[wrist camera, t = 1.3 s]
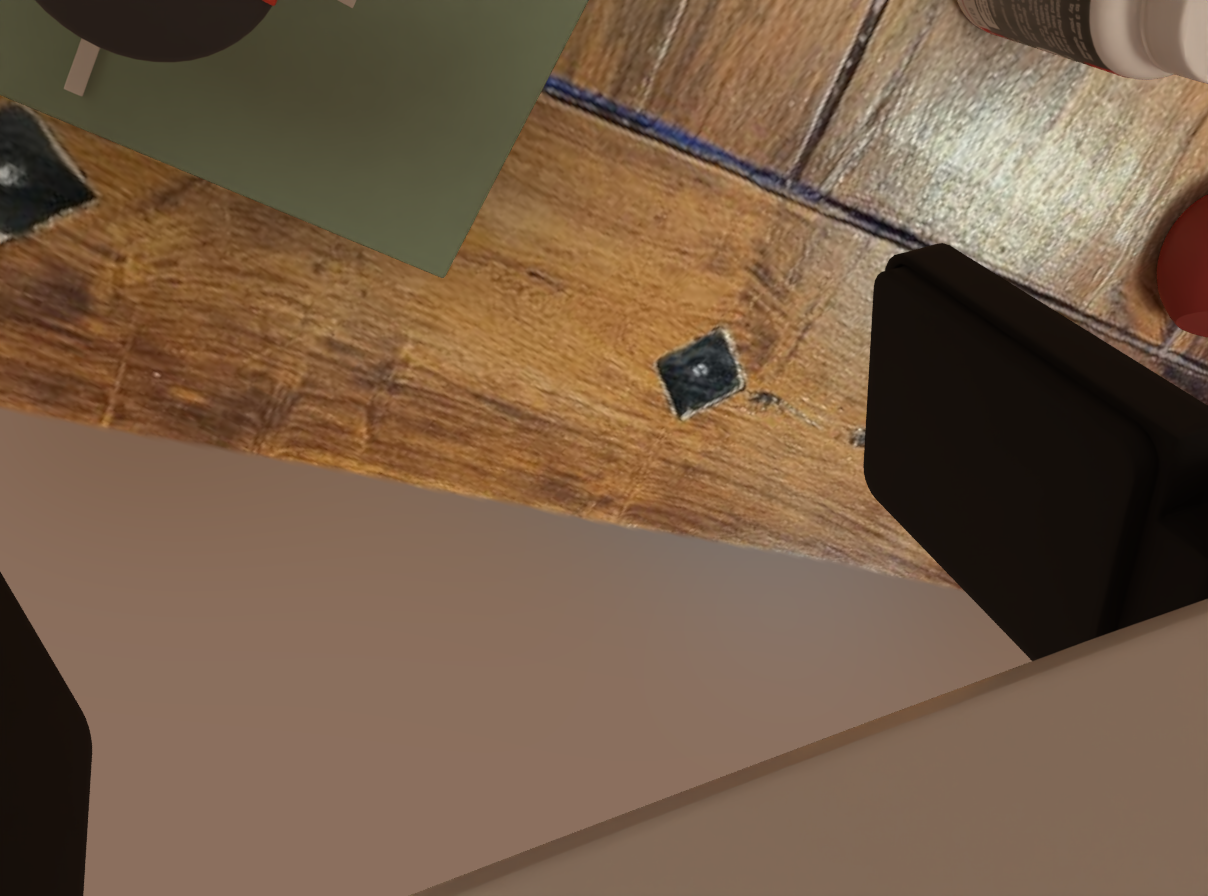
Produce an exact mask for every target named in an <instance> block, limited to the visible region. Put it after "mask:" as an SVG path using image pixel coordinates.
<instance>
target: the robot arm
mask: <svg viewBox="0 0 1208 896" xmlns="http://www.w3.org/2000/svg"><path fill="white" fill-rule="evenodd" d="M864 475H865V480H866V482H867V485H868V488H869V489H870V491H871V493H872V495H873V496H874V497H875V498H876V500H877V501H878V502H879V503H880V504H881V505H882V506H883V507H884V508H885V509H886V510H887V511H888V512H889V513H890V514H891V515H892V516H893V517H894V518H895V519H896V520H897V521H898V522H899V523H900V524H901V525H902V527H903V528H904V529H905V530H906V531H907V532H908V533H909V534H910V535H911V536H912V537H913V538H914V539H915V540H916V541H917V542H918V543H919V544H920V545H921V546H922V547H923V548H924V549H925V550H926V551H927V552H928V553H929V554H930V556H931V557H932V558H933V559H934V560H935V561H936V562H937V563H938V564H939V565H940V566H941V567H942V568H943V569H944V570H945V571H946V572H947V573H948V574H949V575H950V576H951V577H952V578H953V579H954V580H955V581H956V582H957V583H958V585H959V586H960V587H961V588H962V589H963V590H964V591H965V592H966V593H967V594H968V595H969V596H970V597H971V598H972V599H973V600H974V601H975V602H976V603H977V604H978V605H979V606H980V607H981V608H982V609H983V610H984V611H985V612H986V613H987V614H988V616H990V618H991V619H992V620H993V621H994V622H995V623H996V624H997V625H998V626H999V627H1000V628H1001V629H1002V630H1003V631H1004V632H1005V633H1006V634H1007V635H1008V636H1009V637H1010V638H1011V639H1012V640H1013V641H1014V642H1015V643H1016V645H1017V646H1019V648H1020V649H1021V650H1022V651H1023V652H1024V653H1025V654H1026V655H1027V656H1028V657H1029V658H1030V659H1031V660H1032V662H1029V663H1027V664H1024V665H1021V666H1018V667H1016V668H1013V669H1010V670H1008V671H1005V672H1002V673H999V674H997V675H994V676H992V677H989V678H986V679H983V680H981V681H978V682H975V683H973V684H970V685H967V686H964V687H962V688H959V689H956V690H954V691H951V692H948V693H945V694H943V695H940V696H937V697H935V698H932V699H929V700H927V701H924V702H921V703H919V704H916V705H913V706H910V707H908V708H905V709H902V710H899V711H897V712H894V713H891V714H889V715H886V716H883V717H881V718H878V719H875V720H873V721H870V722H867V723H864V724H862V725H859V726H857V727H854V728H851V729H848V730H846V731H843V732H840V733H838V734H835V735H832V736H830V737H827V738H824V739H822V740H819V741H816V742H814V743H811V744H808V745H806V746H803V747H801V748H798V749H795V750H793V751H790V752H787V753H784V754H782V755H779V756H776V757H774V758H771V759H769V760H766V761H763V762H760V763H758V764H755V765H752V766H750V767H747V768H744V769H742V770H739V771H737V772H734V773H731V774H728V775H726V776H723V777H720V778H718V779H715V780H712V781H710V782H707V783H705V784H702V785H699V786H697V787H694V788H691V789H689V790H686V791H683V792H681V793H678V794H676V795H673V796H670V797H667V798H665V799H662V800H659V801H657V802H654V803H652V804H649V805H646V806H644V807H641V808H638V809H636V810H633V811H630V812H628V813H625V814H622V815H620V816H617V817H615V818H612V819H609V820H606V821H604V822H601V823H598V824H596V825H593V826H591V827H588V828H585V829H583V830H580V831H577V832H575V833H572V834H569V835H567V836H564V837H562V838H559V839H556V840H553V841H551V842H548V843H546V844H543V845H540V846H538V847H535V848H532V849H530V850H527V851H525V852H522V853H520V854H517V855H514V856H512V857H509V858H507V859H504V860H501V861H498V862H496V863H493V864H491V865H488V866H485V867H483V868H480V869H478V870H475V871H472V872H470V873H467V874H464V875H462V876H459V877H457V878H454V879H451V880H449V881H446V882H444V883H441V884H439V885H436V886H433V887H430V888H428V889H425V890H423V891H420V892H418V893H415V894H412V895H410V896H1208V406H1207V405H1206V404H1204V403H1203V402H1201V401H1199V400H1198V399H1196V398H1194V397H1193V396H1191V395H1190V394H1188V393H1186V392H1185V391H1183V390H1182V389H1180V388H1178V387H1177V386H1175V385H1174V384H1172V383H1170V382H1169V381H1167V380H1165V379H1164V378H1162V377H1161V376H1159V375H1157V374H1156V373H1154V372H1153V371H1151V370H1149V369H1148V368H1146V367H1145V366H1143V365H1141V364H1140V363H1138V362H1136V361H1135V360H1133V359H1132V358H1130V357H1128V356H1127V355H1125V354H1124V353H1122V352H1120V351H1119V350H1117V349H1116V348H1114V347H1112V346H1111V345H1109V344H1107V343H1106V342H1104V341H1103V340H1101V339H1099V338H1098V337H1096V336H1095V335H1093V334H1091V333H1090V332H1088V331H1087V330H1085V329H1083V328H1082V327H1080V326H1078V325H1077V324H1075V323H1074V322H1072V321H1070V320H1069V319H1067V318H1066V317H1064V316H1062V315H1061V314H1059V313H1058V312H1056V311H1054V310H1053V309H1051V308H1049V307H1048V306H1046V305H1045V304H1043V303H1041V302H1040V301H1038V300H1037V299H1035V298H1033V297H1032V296H1030V295H1029V294H1027V293H1025V292H1024V291H1022V290H1020V289H1019V288H1017V287H1016V286H1014V285H1012V284H1011V283H1009V282H1008V281H1006V280H1004V279H1003V278H1001V277H1000V276H998V275H996V274H995V273H993V272H991V271H990V270H988V269H987V268H985V267H983V266H982V265H980V264H979V263H977V262H975V261H974V260H972V259H970V258H969V257H967V256H966V255H964V254H962V253H961V252H959V251H958V250H956V249H954V248H953V247H951V246H949V245H947V244H944V243H940V244H935V245H931V246H927V247H924V248H920V249H916V250H912V251H909V252H905V253H901V254H897V255H894V256H893V257H892V258H891V259H890V260H889V261H888V263H887V266H886V268H885V271H884V272H881V273H880V274H879V275H878V276H877V278H876V280H875V284H874V293H873V311H872V328H871V345H870V363H869V380H868V398H867V415H866V432H865V450H864ZM91 762H92V741H91V735H90V730H89V726H88V724H87V721H86V718H85V716H84V714H83V712H82V710H81V708H80V707H79V705H78V703H77V701H76V700H75V698H74V696H73V695H72V693H71V691H70V690H69V688H68V686H67V685H66V683H65V681H64V679H63V678H62V676H61V674H60V673H59V671H58V669H57V667H56V666H55V664H54V662H53V661H52V659H51V657H50V656H49V654H48V652H47V650H46V649H45V647H44V645H43V644H42V642H41V640H40V638H39V637H38V635H37V633H36V632H35V630H34V628H33V627H32V625H31V623H30V622H29V620H28V618H27V616H26V615H25V613H24V611H23V610H22V608H21V606H20V604H19V603H18V601H17V599H16V598H15V596H14V594H13V593H12V591H11V589H10V587H9V586H8V584H7V583H6V581H5V579H4V577H3V576H2V574H1V572H0V896H83V891H84V875H85V858H86V842H87V826H88V810H89V794H90V777H91Z"/></svg>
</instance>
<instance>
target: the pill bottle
mask: <svg viewBox="0 0 1208 896" xmlns="http://www.w3.org/2000/svg"><path fill="white" fill-rule="evenodd" d="M957 1H958V4H959V6H960V8H961V10H962V12H963V13H964V14H965V16H966V17H967V18H968V19H969V20H970V21H971V22H972V23H973V24H974V25H976V26H977V27H978V28H980V29H982V30H984V31H986V32H988V33H991V34H993V35H996V36H1000V37H1003V38H1006V39H1009V40H1012V41H1016V42H1019V43H1022V44H1025V45H1028V46H1031V47H1034V48H1037V49H1040V50H1043V51H1046V52H1050V53H1053V54H1055V55H1059V56H1062V57H1065V58H1068V59H1071V60H1074V61H1076V62H1081V63H1083V64H1087V65H1089V66H1092V67H1095V68H1098V69H1101V70H1105V71H1107V72H1110V73H1113V74H1116V75H1119V76H1123V77H1127V78H1133V79H1142V80H1151V79H1159V78H1163V77H1167V76H1170V75H1173V74H1175V75H1179V76H1183V77H1186V78H1189V79H1192V80H1196V81H1199V82H1203V83H1207V84H1208V0H957Z"/></svg>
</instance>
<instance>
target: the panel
mask: <svg viewBox="0 0 1208 896" xmlns="http://www.w3.org/2000/svg"><path fill="white" fill-rule="evenodd" d="M588 1H589V0H277V2H276V5H275V6H272V7H271V9H270V10H269V12H268V13H267V15H266V16H265V18H264V19H263V20H262V21H261V22H260V23H259V24H258V25H257V26H256V27H255V28H254V29H253V30H252V31H251V32H250V33H249V34H247V35H246V36H245V37H244V38H242V39H241V40H240V41H238V42H237V43H235V44H233V45H232V46H230V47H228V48H226V49H225V50H222V51H220V52H217V53H215V54H213V55H210V56H207V57H203V58H199V59H195V60H191V61H182V62H150V61H143V60H136V59H132V58H129V57H125V56H121V55H117V54H115V53H112V52H109V51H107V50H104V49H102V48H99V47H97V46H95V45H93V44H91V43H89V42H88V41H86V40H84V39H82V38H80V37H78V36H77V35H75V34H74V33H73V32H71V31H70V30H68V29H67V28H65V27H64V26H62V25H61V24H60V23H59V22H57V21H56V20H55V19H54V18H53V17H51V16H50V15H49V14H48V13H47V12H46V11H45V10H44V9H43V8H42V7H41V6H40V5H39V4H38V3H37V2H36V1H35V0H0V95H1V96H4V97H6V98H8V99H11V100H13V101H16V102H18V103H21V104H23V105H25V106H28V107H30V108H33V109H35V110H37V111H40V112H42V113H45V114H47V115H49V116H52V117H54V118H57V119H59V120H62V121H64V122H66V123H69V124H71V125H74V126H76V127H78V128H81V129H83V130H86V131H88V132H91V133H93V134H95V135H98V136H100V137H103V138H105V139H107V140H110V141H112V142H115V143H117V144H120V145H122V146H124V147H127V148H129V149H132V150H134V151H136V152H139V153H141V154H144V155H146V156H149V157H151V158H153V159H156V160H158V161H161V162H163V163H165V164H168V165H170V166H173V167H175V168H177V169H180V170H182V171H185V172H187V173H190V174H192V175H194V176H197V177H199V178H202V179H204V180H206V181H209V182H211V183H214V184H216V185H219V186H221V187H223V188H226V189H228V190H231V191H233V192H235V193H238V194H240V195H243V196H245V197H248V198H250V199H252V200H255V201H257V202H260V203H262V204H264V205H267V206H269V207H272V208H274V209H276V210H279V211H281V212H284V213H286V214H289V215H291V216H293V217H296V218H298V219H301V220H303V221H305V222H308V223H310V224H313V225H315V226H318V227H320V228H322V229H325V230H327V231H330V232H332V233H334V234H337V235H339V236H342V237H344V238H347V239H349V240H351V241H354V242H356V243H359V244H361V245H363V246H366V247H368V248H371V249H373V250H375V251H378V252H380V253H383V254H385V255H388V256H390V257H392V258H395V259H397V260H400V261H402V262H404V263H407V264H409V265H412V266H414V267H417V268H419V269H421V270H424V271H426V272H429V273H431V274H433V275H436V276H438V277H441V278H444V277H445V276H446V274H447V272H448V270H449V268H450V266H451V264H452V262H453V260H454V259H455V257H456V255H457V253H458V251H459V249H460V247H461V245H462V243H463V241H464V239H465V237H466V235H467V234H468V232H469V230H470V228H471V226H472V224H473V222H474V220H475V218H476V216H477V214H478V212H479V210H480V208H481V207H482V205H483V203H484V201H485V199H486V197H487V195H488V193H489V191H490V189H491V187H492V185H493V183H494V182H495V180H496V178H497V176H498V174H499V172H500V170H501V168H502V166H503V164H504V162H505V160H506V158H507V157H508V155H509V153H510V151H511V149H512V147H513V145H514V143H515V141H516V139H517V137H518V135H519V133H520V132H521V130H522V128H523V126H524V124H525V122H526V120H527V118H528V116H529V114H530V112H531V110H532V108H533V107H534V105H535V103H536V101H537V99H538V97H539V95H540V93H541V91H542V89H543V87H544V85H545V83H546V81H547V80H548V78H549V76H550V74H551V72H552V70H553V68H554V66H555V64H556V62H557V60H558V58H559V56H560V55H561V53H562V51H563V49H564V47H565V45H566V43H567V41H568V39H569V37H570V35H571V33H572V31H573V30H574V28H575V26H576V24H577V22H578V20H579V18H580V16H581V14H582V12H583V10H584V8H585V6H586V5H587V3H588Z"/></svg>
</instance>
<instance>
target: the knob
mask: <svg viewBox="0 0 1208 896" xmlns="http://www.w3.org/2000/svg"><path fill="white" fill-rule="evenodd" d="M35 1H36V2H37V3H38V4H39V5H40V6H41V7H42V8H43V9H44V10H45V11H46V12H47V13H48V14H49V15H50V16H51V17H53V18H54V19H55V20H56V21H57V22H59V23H60V24H61V25H62V26H64V27H65V28H67V29H68V30H70V31H71V32H73V33H74V34H75V35H77V36H78V37H80V38H82V39H84V40H86V41H88V42H89V43H91V44H93V45H95V46H97V47H99V48H102V49H104V50H107V51H109V52H112V53H115V54H117V55H121V56H125V57H129V58H132V59H136V60H143V61H150V62H182V61H191V60H195V59H199V58H203V57H207V56H210V55H213V54H215V53H217V52H220V51H222V50H225V49H226V48H228V47H230V46H232V45H233V44H235V43H237V42H238V41H240V40H241V39H242V38H244V37H245V36H246V35H247V34H249V33H250V32H251V31H252V30H253V29H254V28H255V27H256V26H257V25H258V24H259V23H260V22H261V21H262V20H263V19H264V18H265V16H266V15H267V13H268V12H269V10H270V9H271V7H272V6H275V5H276V2H277V0H35Z"/></svg>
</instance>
